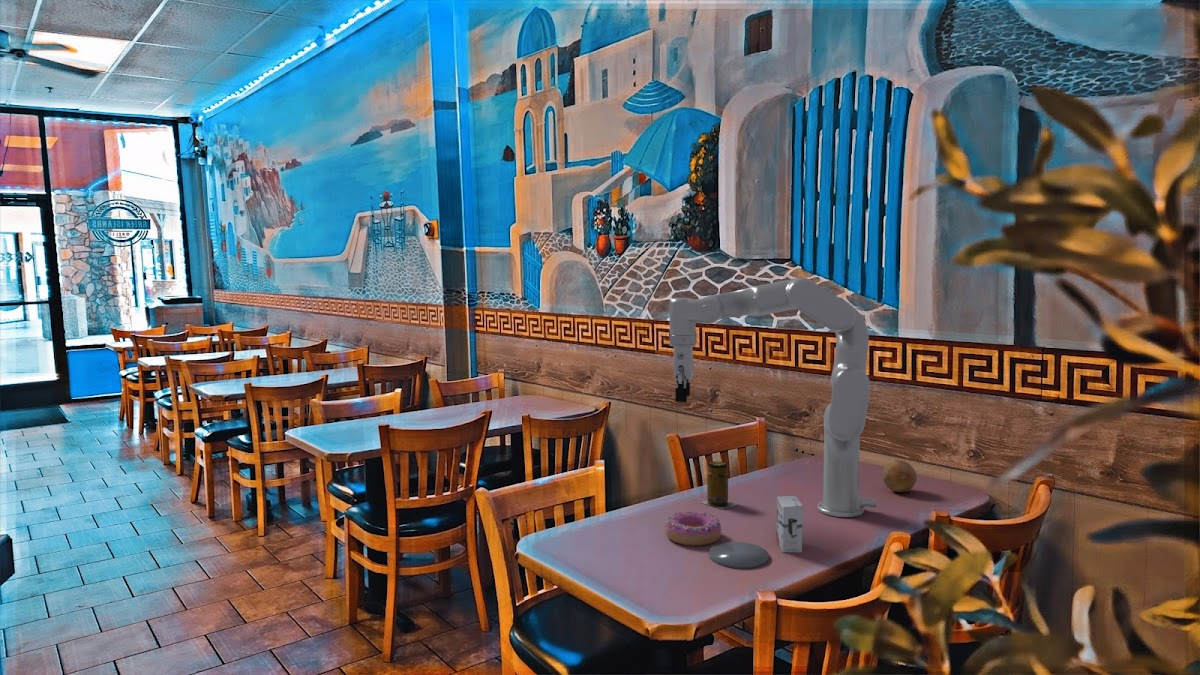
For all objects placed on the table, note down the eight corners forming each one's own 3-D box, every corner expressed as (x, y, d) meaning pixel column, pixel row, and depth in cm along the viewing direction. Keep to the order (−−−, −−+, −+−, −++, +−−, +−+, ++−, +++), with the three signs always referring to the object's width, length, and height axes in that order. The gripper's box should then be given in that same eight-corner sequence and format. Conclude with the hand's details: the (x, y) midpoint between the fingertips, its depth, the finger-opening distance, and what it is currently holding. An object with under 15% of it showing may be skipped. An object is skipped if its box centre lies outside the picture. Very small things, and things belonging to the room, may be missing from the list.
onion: (923, 494, 227) (924, 461, 226) (898, 498, 223) (899, 465, 222) (899, 485, 236) (900, 454, 235) (874, 489, 232) (875, 457, 231)
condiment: (717, 497, 227) (717, 458, 225) (738, 504, 220) (739, 464, 219) (700, 503, 222) (700, 463, 221) (722, 510, 215) (722, 469, 214)
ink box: (775, 539, 192) (775, 495, 191) (794, 539, 192) (795, 495, 191) (782, 553, 184) (783, 506, 182) (802, 553, 183) (803, 506, 182)
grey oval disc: (768, 547, 187) (768, 543, 187) (768, 570, 173) (768, 566, 173) (711, 543, 190) (711, 540, 190) (707, 565, 176) (707, 561, 176)
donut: (716, 550, 186) (716, 531, 186) (660, 545, 190) (660, 525, 190) (724, 530, 200) (724, 512, 199) (671, 525, 204) (671, 507, 203)
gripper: (693, 343, 209) (693, 404, 211) (697, 337, 226) (698, 393, 227) (666, 343, 210) (666, 404, 212) (672, 337, 227) (673, 393, 229)
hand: (682, 398), depth 220 cm, fingers open, 9 cm apart
